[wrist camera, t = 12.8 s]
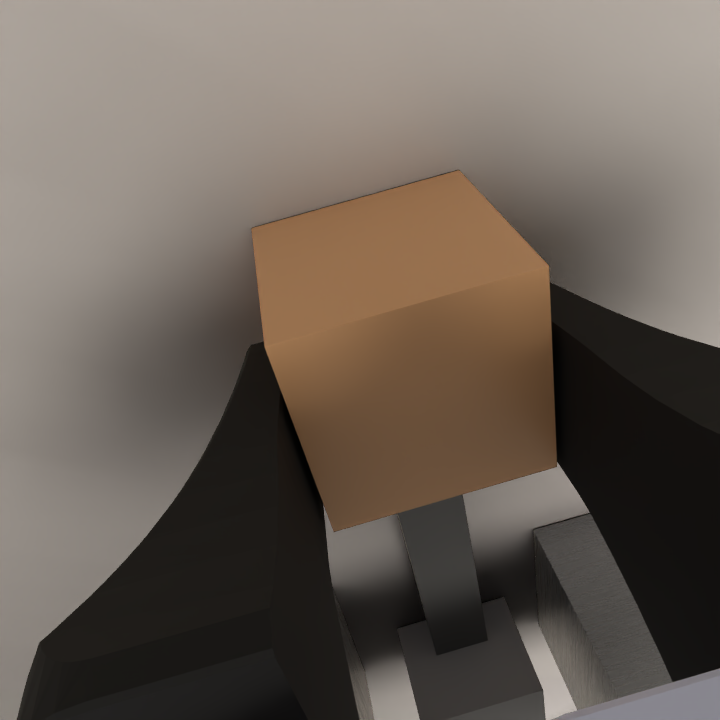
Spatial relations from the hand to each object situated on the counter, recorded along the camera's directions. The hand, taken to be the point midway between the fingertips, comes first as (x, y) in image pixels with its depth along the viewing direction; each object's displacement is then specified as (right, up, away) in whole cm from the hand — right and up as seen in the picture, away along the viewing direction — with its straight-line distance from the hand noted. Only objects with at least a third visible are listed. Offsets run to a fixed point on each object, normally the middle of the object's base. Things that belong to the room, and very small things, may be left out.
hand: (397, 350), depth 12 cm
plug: (+1, -3, +4) cm, 6 cm away
